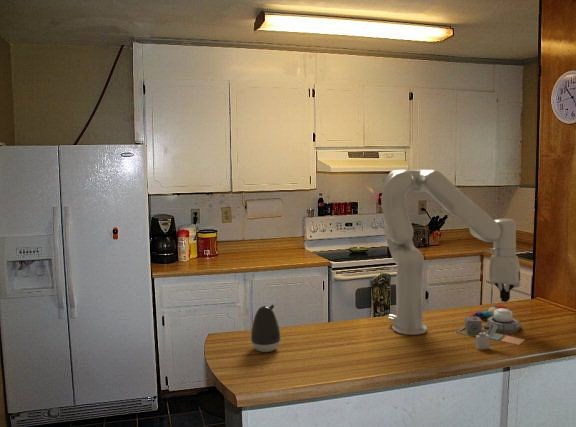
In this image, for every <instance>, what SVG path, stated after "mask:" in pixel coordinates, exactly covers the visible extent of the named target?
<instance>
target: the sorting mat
mask: <svg viewBox="0 0 576 427" xmlns="http://www.w3.org/2000/svg"><path fill="white" fill-rule="evenodd" d="M463 330H465V326H464V327H462V328H460V329H459V330H457V331H456V333H457V334H462V335H467V336H470V337H475V338H476V334H467V333H465V332H461V331H463ZM482 331H483V332H485V333H486V334H487V333H488V330H487V329H484V328H482ZM504 336H505V334H500V333H496V332H495V334H494V336H493V337H491V336H490V337H489V340H490V339H491V340H493V341H499V340H500V339H501V338H502V339H501V340H500V342H503V343H507V344H512V345H516V346H520V345H521V344H522V343H523V342H525V338H524V339H523V338H519V337H513V336H509V335H506V336H505V337H504Z"/></svg>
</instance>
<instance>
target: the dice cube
mask: <svg viewBox="0 0 576 427" xmlns="http://www.w3.org/2000/svg"><path fill="white" fill-rule="evenodd" d="M482 326H483V322H482V318H481V317H476V316H474V317H470V316H464V327H465V328H464V331H465V332H466V334H470V335H479V333H481V332H482V331H483V330H482V329H483V328H482Z"/></svg>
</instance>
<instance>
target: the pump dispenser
mask: <svg viewBox="0 0 576 427" xmlns="http://www.w3.org/2000/svg"><path fill="white" fill-rule="evenodd" d="M274 308H275V305H274V304H271V305H270V306H268V305H262V306H260V307H259V308H258V309H257V311H256V312H255V314H254V318H253V321H252V326H251V330H250V331H251V332H250V341H251V343H252V346H253V347H254V349H255V350H256V351H258V352H261V353H271V352H272V351H275V350H276V349H277V348H278V347H279V345H280V342H281V338H282V337H281V331H280V326H279V322H278V319H277V317H276V314H275V312H274V310H273V309H274Z"/></svg>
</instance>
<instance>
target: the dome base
mask: <svg viewBox="0 0 576 427" xmlns="http://www.w3.org/2000/svg"><path fill="white" fill-rule="evenodd" d="M491 324H495V325H497V326H498V327H497V330H496V332H498V333H503V334H507V335H514V334H515V333H516V332H518V331H519V330H520V329H521V328H522V324H520V322H519V320H517V319H516V318H514V317H512V321H511V322H500V321H496V320H494V316H492V317H489V318H488V317H487V324H485V325H484V326H483V330H487V331H488V330H489V328H490V326H491Z"/></svg>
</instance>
